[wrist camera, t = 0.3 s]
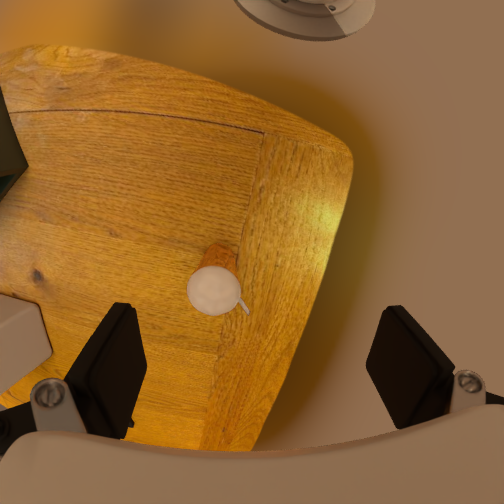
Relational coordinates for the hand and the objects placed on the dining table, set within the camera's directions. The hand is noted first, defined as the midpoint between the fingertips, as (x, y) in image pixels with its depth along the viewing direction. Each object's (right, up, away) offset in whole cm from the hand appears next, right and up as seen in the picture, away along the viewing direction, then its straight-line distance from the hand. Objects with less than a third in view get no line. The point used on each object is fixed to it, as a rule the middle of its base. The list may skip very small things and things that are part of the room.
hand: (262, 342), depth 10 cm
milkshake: (-4, +3, +21) cm, 22 cm away
